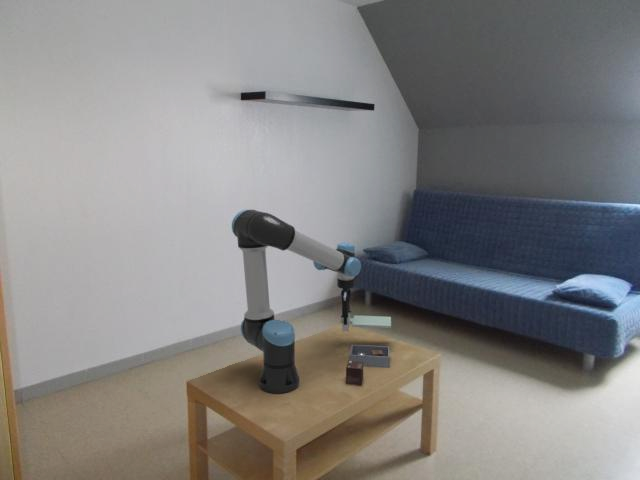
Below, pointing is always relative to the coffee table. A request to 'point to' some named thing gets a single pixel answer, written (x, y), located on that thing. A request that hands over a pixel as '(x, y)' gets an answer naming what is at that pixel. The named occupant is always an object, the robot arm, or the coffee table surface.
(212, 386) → the coffee table surface
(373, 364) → the tub
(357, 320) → the lid
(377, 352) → the walnut block
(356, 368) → the box
